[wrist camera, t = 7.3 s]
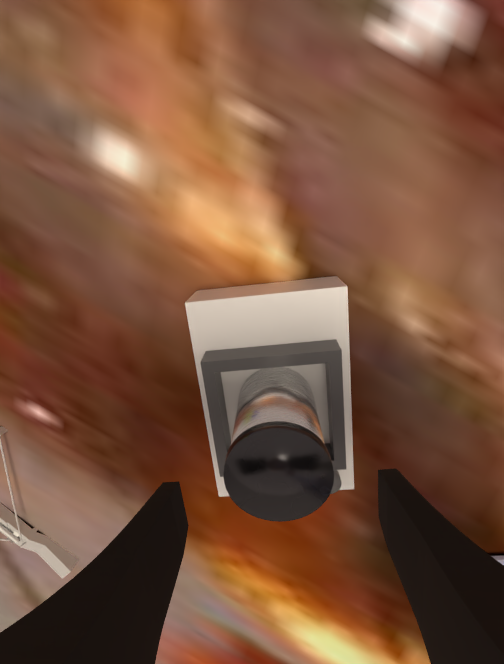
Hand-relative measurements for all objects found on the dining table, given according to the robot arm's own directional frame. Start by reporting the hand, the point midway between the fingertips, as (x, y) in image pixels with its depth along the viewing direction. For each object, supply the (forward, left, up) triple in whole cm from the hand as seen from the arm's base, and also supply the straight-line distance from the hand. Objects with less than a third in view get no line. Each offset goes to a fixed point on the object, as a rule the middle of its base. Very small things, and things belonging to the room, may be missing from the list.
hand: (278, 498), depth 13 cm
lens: (0, 0, -7) cm, 7 cm away
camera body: (0, 0, -10) cm, 10 cm away
